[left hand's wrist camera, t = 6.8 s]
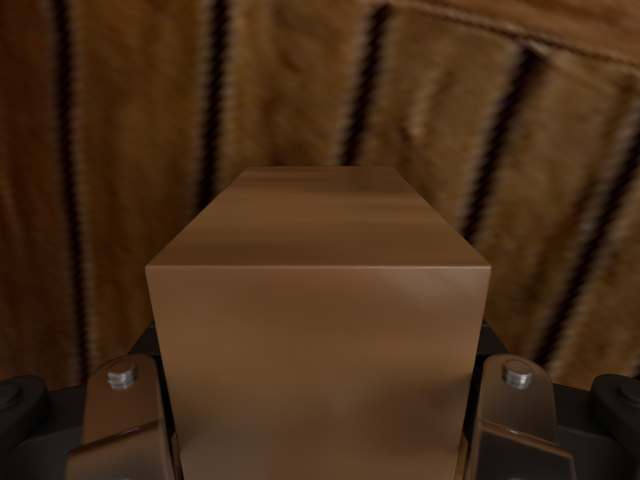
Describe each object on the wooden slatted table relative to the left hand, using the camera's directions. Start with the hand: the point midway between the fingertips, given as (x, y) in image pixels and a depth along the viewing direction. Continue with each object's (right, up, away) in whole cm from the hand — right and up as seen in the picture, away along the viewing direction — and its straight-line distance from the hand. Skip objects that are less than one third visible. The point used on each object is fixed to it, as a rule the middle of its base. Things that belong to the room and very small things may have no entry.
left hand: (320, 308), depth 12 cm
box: (0, -7, +9) cm, 11 cm away
